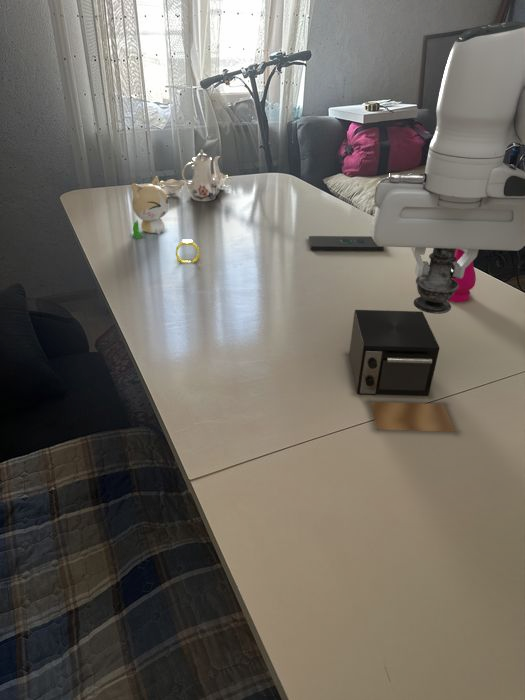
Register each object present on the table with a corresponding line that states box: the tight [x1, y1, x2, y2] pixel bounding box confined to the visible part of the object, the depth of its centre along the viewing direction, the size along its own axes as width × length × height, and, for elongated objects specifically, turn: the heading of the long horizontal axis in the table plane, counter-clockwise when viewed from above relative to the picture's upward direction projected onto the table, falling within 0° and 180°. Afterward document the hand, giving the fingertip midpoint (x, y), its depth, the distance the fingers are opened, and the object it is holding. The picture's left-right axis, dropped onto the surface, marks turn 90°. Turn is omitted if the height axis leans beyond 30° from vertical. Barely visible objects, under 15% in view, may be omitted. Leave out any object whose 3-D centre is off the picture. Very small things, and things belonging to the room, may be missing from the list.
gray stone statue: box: [413, 248, 459, 315], centre depth 71 cm, size 6×6×12 cm
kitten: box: [131, 175, 170, 239], centre depth 147 cm, size 15×10×15 cm
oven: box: [348, 309, 441, 397], centre depth 88 cm, size 12×14×10 cm
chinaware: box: [159, 149, 232, 202], centre depth 178 cm, size 28×17×17 cm, turn 130°
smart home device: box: [308, 235, 385, 252], centre depth 143 cm, size 8×2×20 cm
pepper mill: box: [447, 249, 477, 303], centre depth 112 cm, size 7×7×20 cm
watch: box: [175, 238, 200, 264], centre depth 131 cm, size 6×3×6 cm, turn 98°
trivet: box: [370, 401, 456, 433], centre depth 82 cm, size 12×7×1 cm, turn 88°
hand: (438, 276), depth 72 cm, fingers closed on gray stone statue, 3 cm apart
